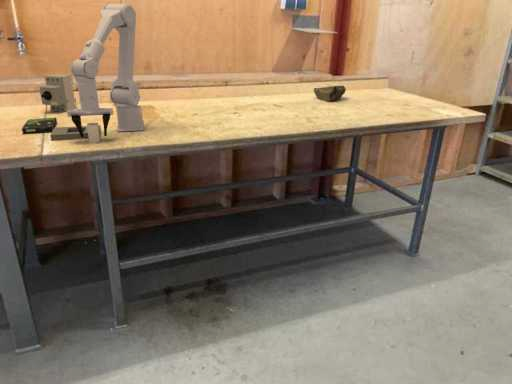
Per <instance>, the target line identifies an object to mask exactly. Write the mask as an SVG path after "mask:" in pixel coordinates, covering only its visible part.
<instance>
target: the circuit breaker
mask: <svg viewBox="0 0 512 384" xmlns="http://www.w3.org/2000/svg"><path fill="white" fill-rule="evenodd" d="M72 75H73V74H69V73H68V74H67V73H65V74H62V73H54V74H49V75H45V76H44V79H45V85H41V86H39V87H38V89H39V94H40V98H41V99H40V100H41V104H42V105H46V106H50V107H49V109H50V112H62V113H67V111H68V110H75V109H78V107H77V98H76V97H75V94H74V87H73V85H74V79H73V77H72Z"/></svg>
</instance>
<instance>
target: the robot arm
mask: <svg viewBox="0 0 512 384" xmlns="http://www.w3.org/2000/svg"><path fill="white" fill-rule="evenodd" d="M100 17H101V19H100V21H99V23H98V26H97V28H96V31H95V33H94V36H93V38H92V39H88V40H87V41H85V43H84V44H85V45H84V48H83V49H82V51H81V53H80V55H79V58H77V59H75V60H74V61H73V62H72V64H71V68H70V71H71V75H73V76H74V79H75V81H76V84H77V89H78V97H79V103H80V108H75V109H73V110H68V111H67V112H66V114H67V117H68V118H71V121H72V122H73V124H74V125H75V127H77V129H78V131H79V133H80V136H81V137H83V136H84V135H83V130H82V126H83V125H82V117H85V116H87V117H88V116H89V117H91V116H102V117H101V118H102V123H103V135H104V136H103V137H107V136H108V126H109V122H110V119H111V116H114V108H113V107H110V108H105V107H103V108H102V107H100V105H99V95H98V90H97V81H96V77H97V76H98V74H99V65H100V63H99V62H100V60H101V58H102V56H103V54H104V52H105V46H104V44H105V42H107V41H106V40H108V38H109V36H110V34H111V33H112V31H113V29H114V30H115V31H117V33H118V34H119V35H118V36H119V37H118V38H119V40H118V60H117V61H118V62H117V78H116V79H115V80H114V81H113V82H112V83H111V89H110V92H109V98H110V102H112V103H113V104H114V105H113V106H115V109H116V117H117V132H119V133H121V132H135V131H136V132H137V131H144V125H145V124H144V123H145V121H144V119H143V109H142V105H138V104H139V103H140V100H141V99H140V98H141V95H140V91H139V90H140V89H139V88H140V87H139V85H138V83H136V82H135V81H134V65H135V45H136V23H137V22H136V20H137V12H136V10H135V9H134V8H133V6H132V5H131V4H129V3H110V2H109V3H105V4H104V5H103V6H102V9H101V10H100Z"/></svg>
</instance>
